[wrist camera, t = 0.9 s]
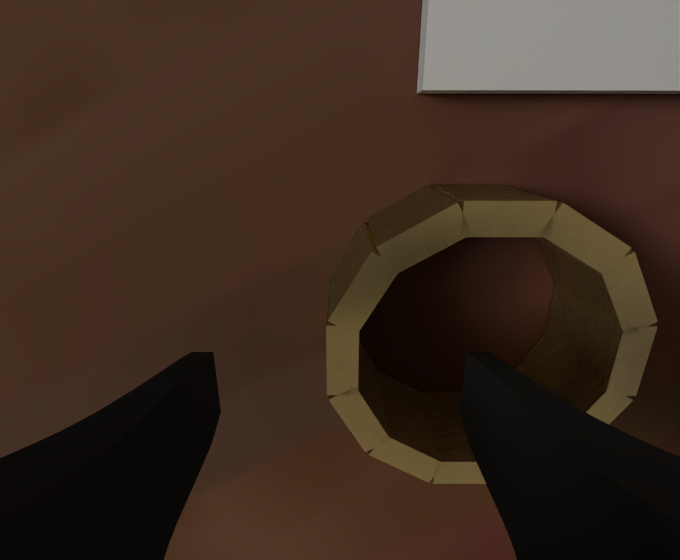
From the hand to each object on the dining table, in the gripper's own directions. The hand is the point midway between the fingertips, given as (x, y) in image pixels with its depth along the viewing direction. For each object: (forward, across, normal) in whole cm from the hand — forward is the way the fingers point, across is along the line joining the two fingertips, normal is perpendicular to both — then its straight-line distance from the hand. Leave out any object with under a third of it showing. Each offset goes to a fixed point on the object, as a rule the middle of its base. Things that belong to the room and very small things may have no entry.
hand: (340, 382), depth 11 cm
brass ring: (+5, -5, 0) cm, 7 cm away
